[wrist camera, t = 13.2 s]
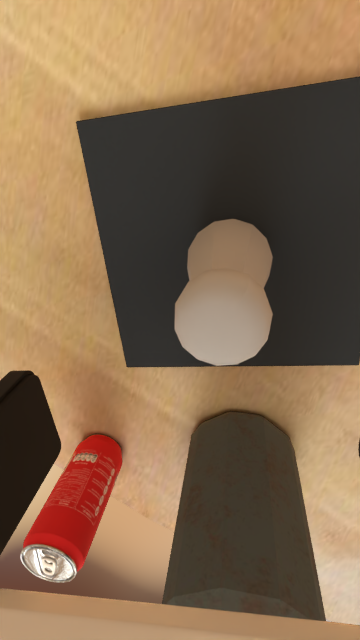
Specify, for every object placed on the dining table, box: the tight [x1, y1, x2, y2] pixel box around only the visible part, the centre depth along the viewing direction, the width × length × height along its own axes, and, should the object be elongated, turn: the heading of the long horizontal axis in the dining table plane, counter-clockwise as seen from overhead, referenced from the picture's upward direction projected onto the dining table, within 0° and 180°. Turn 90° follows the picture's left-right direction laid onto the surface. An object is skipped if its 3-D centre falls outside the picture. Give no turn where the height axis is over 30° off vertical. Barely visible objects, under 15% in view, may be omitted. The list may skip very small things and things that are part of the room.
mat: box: [76, 77, 360, 367], centre depth 26 cm, size 20×20×1 cm
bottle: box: [162, 411, 326, 621], centre depth 21 cm, size 10×10×30 cm
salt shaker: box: [175, 219, 273, 366], centre depth 20 cm, size 6×6×13 cm
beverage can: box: [21, 434, 122, 582], centre depth 32 cm, size 5×5×12 cm
